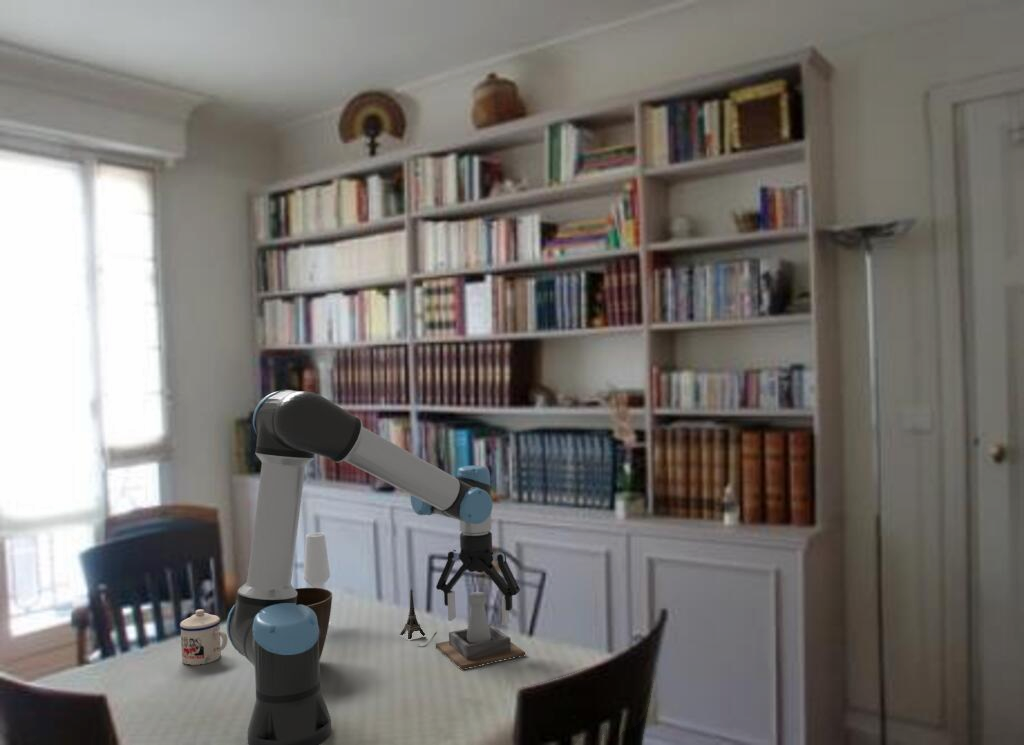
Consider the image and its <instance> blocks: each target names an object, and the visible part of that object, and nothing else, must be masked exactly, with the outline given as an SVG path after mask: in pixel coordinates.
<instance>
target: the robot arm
mask: <svg viewBox="0 0 1024 745" xmlns="http://www.w3.org/2000/svg"><path fill="white" fill-rule="evenodd" d="M363 425H364V424H363V421H362V420H361V419H360V418H359V417H356V416H355V415H353V414H352V413H350V412H348V411H346V409H343V408H342V407H340V406H339V405H337V404H335V403H334V402H333V401H331V400H329V399H327V398H326V397H324V396H322V395H320V394H318V393H315V392H313V391H305V390H303V391H300V390H293V389H282V390H278V391H274V392H272V393H271V392H270V393H269V394H268V395H266V396H265V397H263V398H262V399H261V400H260V401H259V402H258V403H257V405H256V407H255V409H254V412H253V415H252V426H253V431H254V432H255V434H256V437H257V438H256V446H255V455H256V457H257V458H258V459H259V461H260V462H261V466H260V476H259V484H258V491H257V499H256V500H257V501H256V505H255V506H256V508H255V516H254V522H253V532H252V538H251V546H250V547H251V548H250V555H249V561H248V562H249V563H248V571H247V578H246V582H245V583H244V584H243V585H242V586H240V587H239V588H238V589H237V593H236V594H237V595H236V601H235V604H234V605H232V607H231V608H230V611H229V612H228V614H227V615H228V616H227V619H226V634H227V635H228V636H227V638H228V639H229V641H230V643H231V645H232V646H233V648H234V650H236V651H237V652H238V653H239V654H240V655H242V656H243V657H245V658H246V659H247V660H248V661H249V662H250V663H251V664H252V665H253V667H254V676H255V702H254V706H253V710H252V713H251V716H250V720H249V723H248V727H247V733H246V734H247V745H320V744H322V743H323V742H325V741H326V740H327V739H328V738H329V737H330V736H331V733H332V717H331V714H330V712H329V709H328V707H327V704H326V702H325V698H324V696H323V693H322V690H321V672H320V671H321V670H320V668H321V667H320V665H321V664H320V661H319V626H318V622H317V616H316V614H315V612H314V611H313V610H312V609H310V608H309V607H307V606H304V605H301V604H300V605H296V601H297V591H296V590H295V589H296V588H295V587H293V585H292V578H293V571H294V563H295V562H294V560H295V551H296V545H297V539H298V538H297V536H298V527H299V521H300V513H301V506H302V505H301V504H302V498H303V496H302V495H303V488H304V481H305V480H304V478H305V471H306V467H307V466H308V465H309V464H310V463H312V461H314V459H315V455H318V456H320V457H323V458H325V459H326V458H327V459H328V460H330V461H333V462H334V463H336V464H337V463H342V462H345V463H347V464H349V465H352V466H353V467H355V468H358V469H359V470H362V471H363V472H366V473H367V474H368V475H371V476H373V477H375V478H377V479H379V480H381V481H383V482H385V483H387V484H388V485H391V486H393V487H395V488H397V489H399V490H400V491H403V492H405V493H407V494H409V495H410V503H411V504H410V505H411V507H412V509H413V512H414V513H415V514H417V515H418V516H431V515H441V516H445V517H446V518H447V517H448V518H452V519H455V520H458V521H459V531H460V532H461V533H460V534H459V546H460V547H459V548H460V552H459V551H457V550H456V549H452V550H450V551H449V552H448V553H447V559H446V560H447V561H446V563H445V566H444V568H443V570H442V572H441V575H440V577H439V579H438V581H437V583H436V587H435V588H436V590H439V591H442V593H443V597H444V598H443V599H444V605H445V606H446V607H447V615H448V616H447V619H448V620H447V621H448V622H449V621H450V622H452V621H453V620H455V619H456V618H457V616H456V614H457V613H456V611H457V609H456V590H455V589H454V590H453V588H454V586H456V584H457V583H458V582H459V580H460V579H461V578H462V577H463V575H464V574H465V573H466V572H467V571H469V573H474V572H477V573H483V572H484V573H485V574H486V575H487V576H488V577H489V578H490V579H491V581H492V582H493V583H494V584H495V586H496V587H497V588H498V589H499V591H500V592H501V593H502V595H503V596H502V597H501V622H502V623H501V624H502V626H507V625H508V624H509V622H510V611H511V610H513V596H516V595H517V594H518V593H519V592H520V591H521V588H520V586H519V585H518V583H517V580H516V578H515V576H514V574H513V572H512V571H511V568H510V567H509V564H508V562H507V556H506V553H505V552H500V553H494V552H493V533H492V532H491V530H492V527H493V526H492V511H493V500H492V496H491V495H492V494H491V492H492V491H491V487H492V484H491V475H490V474H491V473H490V470H489V468H488V467H486V466H484V465H465V466H461V467H459V468H458V469H457V475H456V476H454V475H451V474H450V473H448V472H446V471H444V470H443V469H441V468H439V467H437V466H435V465H434V464H432V463H430V462H428V461H426V460H424V459H422V458H421V457H419V456H417V455H415V454H414V453H412V452H410V451H409V450H406V449H404V448H402V447H401V446H399V445H397V444H395V443H394V442H392V441H390V440H388V439H387V438H385V437H383V436H381V435H379V434H377V433H375V432H374V431H372V430H370V429H368V428H366V427H365V426H363ZM458 559H459V560H460V561H461V563H462V565H461V566H460V567H459V568H458V570H457V571H456V573H455V574H454V575H453V576H452V578H451V579H450V580H449V582H448V583H447V581H448V579H449V578H450V575H451V572H452V570H453V567H454V565H455V563H456V561H458ZM493 561H495V563H496V564H497V565H498V568H499V570H500V573H501V574H500V573H499V572H498V570H497V569H496V567H495V565H494V564H493ZM501 575H502V576H503V577H502V576H501Z"/></svg>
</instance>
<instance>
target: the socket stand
mask: <svg viewBox="0 0 1024 745" xmlns="http://www.w3.org/2000/svg"><path fill="white" fill-rule="evenodd" d="M489 629H490V633H491V640H489V641H484V642H479V643H474V644H469V643H468V641H467V631H468V628H466V629H465V628H464V629H460V630H459V629H458V630H454V631H450V632H448V641H442V642H437V643H435V648H436V649H437V648H438V649H439V650H440V651H441V652H442V653H441V652H440V651H439V650H438V649H437V650H438V651H439V652H440V653H441V654H443V656H445V655H446V656H447V657H448V658H449V659H450V660H449V659H448V658H447V657H446V656H445V657H446V658H447V659H448V660H449V661H450V662H452V661H453V662H454V663H455V664H456V665H457V666H459V667H460V668H461V669H464V670H466V669H465V668H469V667H473V668H475V667H474V666H478V667H480V666H479V665H482V664H487V663H491V662H495V661H499V660H504V659H509V658H513V657H519V656H524V655H525V656H526V652H525V650H523V649H521V647H519V646H517V645H516V644H515V643H513V642H511V637H510V636H508V635H507V634H506V633H504V632H503V631H501V630H500V629H499V628H497V627H496V626H494V625H492V624H490V623H489ZM525 656H524V657H525ZM453 662H452V663H453ZM454 663H453V664H454ZM455 664H454V665H455ZM456 665H455V666H456ZM487 665H488V664H487ZM457 666H456V667H457ZM460 668H459V669H460ZM461 669H460V670H461ZM469 669H470V668H469Z"/></svg>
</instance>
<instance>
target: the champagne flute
mask: <svg viewBox="0 0 1024 745" xmlns="http://www.w3.org/2000/svg"><path fill="white" fill-rule="evenodd" d="M325 534H326V533H324V532H312V533H307V534H306V535H305V549H304V550H305V551H304V565H303V566H304V567H303V569H304V570H303V579H304V581H305V582H306V583H307V585H309V586H310V588H322V587H324V586H325V584H326V583H327V582H328V580H329V578H330V576H331V574H330V566H329V558H328V556H329V555H328V550H327V549H328V548H327V542H326V541H327V540H326V536H325ZM331 623H332V622H331V621H330V620H329V625H330V624H331ZM329 625H328V627H330V626H331V625H332V624H331V625H330V626H329Z"/></svg>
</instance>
